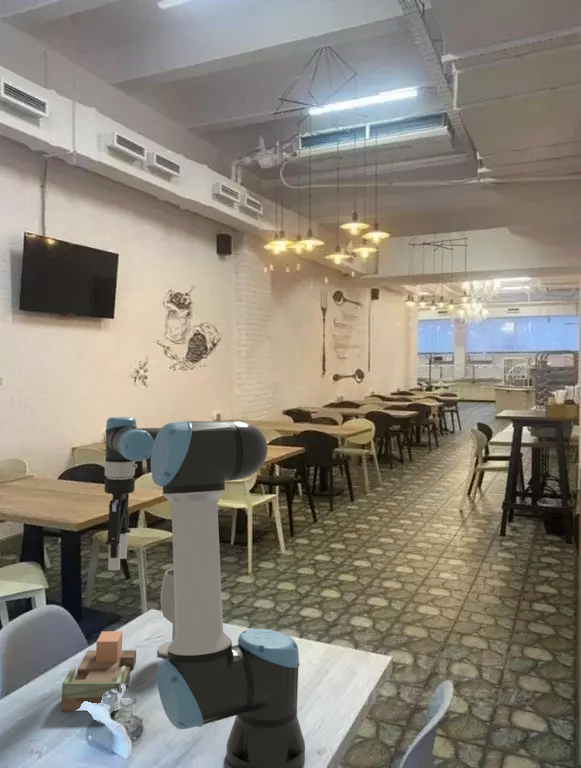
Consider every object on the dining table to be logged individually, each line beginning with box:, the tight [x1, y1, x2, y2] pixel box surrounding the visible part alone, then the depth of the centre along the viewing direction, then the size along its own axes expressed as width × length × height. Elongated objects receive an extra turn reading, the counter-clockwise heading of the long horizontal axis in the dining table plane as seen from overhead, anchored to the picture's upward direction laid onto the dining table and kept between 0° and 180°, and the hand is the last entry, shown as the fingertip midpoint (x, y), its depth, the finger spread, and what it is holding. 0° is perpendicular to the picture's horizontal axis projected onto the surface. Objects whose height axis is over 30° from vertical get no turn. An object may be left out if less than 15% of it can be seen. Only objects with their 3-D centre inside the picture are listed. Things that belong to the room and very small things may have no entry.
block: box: [95, 630, 123, 662], centre depth 153 cm, size 6×5×5 cm
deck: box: [61, 649, 137, 713], centre depth 145 cm, size 23×12×6 cm, turn 5°
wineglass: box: [157, 568, 176, 658], centre depth 164 cm, size 9×9×21 cm
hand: (117, 563), depth 161 cm, fingers open, 9 cm apart
